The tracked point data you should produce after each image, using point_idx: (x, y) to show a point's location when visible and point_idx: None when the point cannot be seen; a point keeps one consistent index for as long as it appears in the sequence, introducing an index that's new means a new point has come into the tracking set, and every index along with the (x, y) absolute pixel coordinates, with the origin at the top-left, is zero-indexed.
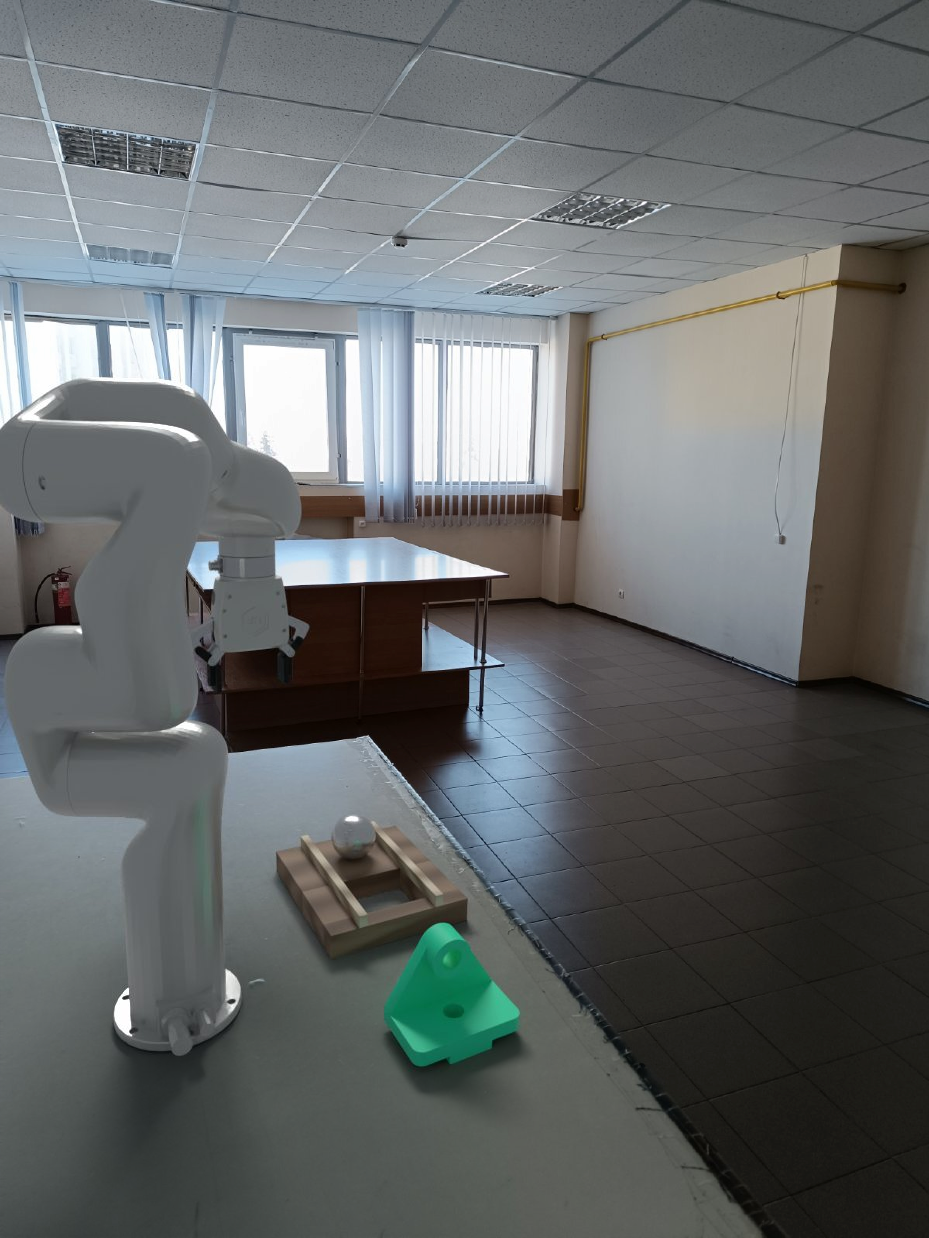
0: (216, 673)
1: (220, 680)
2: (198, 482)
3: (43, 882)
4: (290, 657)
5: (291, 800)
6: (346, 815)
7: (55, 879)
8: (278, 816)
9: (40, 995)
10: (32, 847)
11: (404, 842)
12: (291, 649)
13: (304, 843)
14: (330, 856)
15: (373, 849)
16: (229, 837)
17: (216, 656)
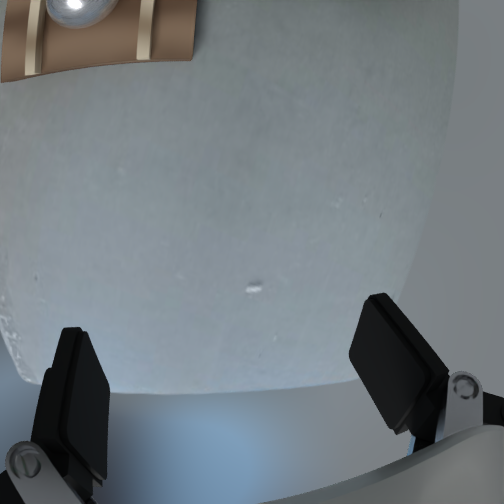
0: (428, 347)
1: (399, 325)
2: None
3: (417, 178)
4: (36, 444)
5: (112, 265)
6: (78, 1)
7: (408, 178)
8: (139, 223)
9: (445, 4)
10: (402, 252)
11: (12, 27)
12: (19, 480)
13: (150, 39)
14: (122, 12)
15: None
16: (220, 187)
17: (466, 410)
